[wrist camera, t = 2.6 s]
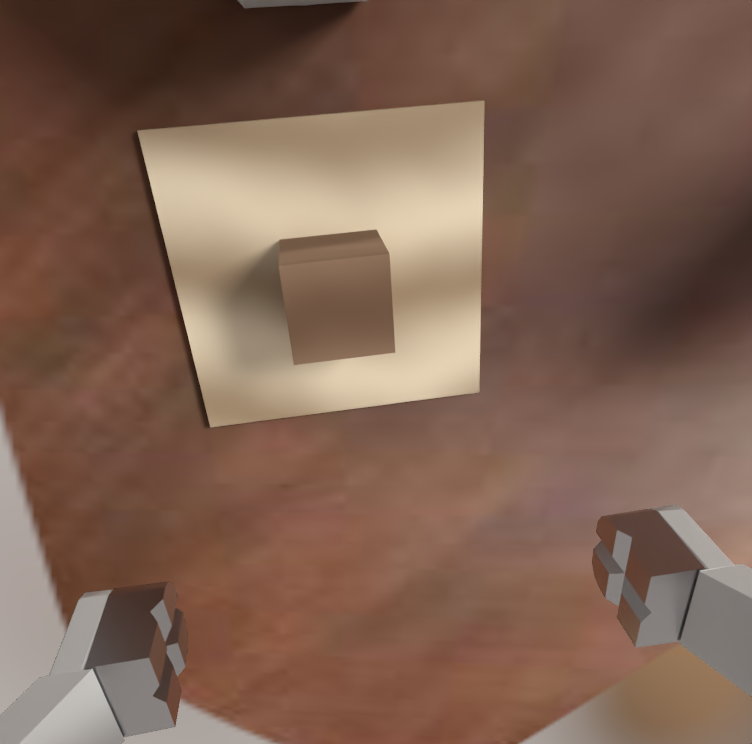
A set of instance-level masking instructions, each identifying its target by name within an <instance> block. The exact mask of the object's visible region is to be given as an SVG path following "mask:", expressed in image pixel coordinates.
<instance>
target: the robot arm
mask: <svg viewBox="0 0 752 744" xmlns="http://www.w3.org/2000/svg"><path fill="white" fill-rule="evenodd" d="M596 533H597V534H598V536H599V537H600V539H601V541H600V542H599V543H598V544H597V546H596V547H595V548H594V549H593V557H592V565H593V571H594V576H595V579H596V581H597V584H598V586H599V588H600V590H601V592H602V593H603V595H604V597H605V598H606V599H608V600H609V601H611V602H613V603H614V604H616V605H617V606H619V608H618V614H617V618H618V620H619V622H620V623H621V625H622V626H623V628H624V630H625V631H626V633H627V635H628V636H629V638H630V639H631V641H632V643H633V644H634V646H635V648H636V647H643V646H650V645H657V644H664V643H671V642H678V641H680V643H679V644H681V645H682V646H683V647H685V648H686V649H687V650H689V651H690V652H691V653H693V654H694V655H696V656H697V657H698V658H700V659H701V660H702V661H704V662H705V663H706V664H708V665H709V666H711V667H712V668H713V669H715V670H716V671H717V672H719V673H720V674H722V675H723V676H724V677H725V678H727V679H728V680H729V681H731V682H732V683H734V684H735V685H736V686H738V687H739V688H740V689H742V690H743V691H744V692H746V693H747V694H749V695H750V696H751V697H752V568H750V567H747V566H745V565H743V564H737V565H734V564H733V563H732V562H731V561H730V560H729V559H728V557H727V556H726V555H725V554H724V553H723V552H722V551H721V550H720V549H719V548H718V547H717V545H716V544H715V543H714V542H713V541H712V540H711V539H710V538H709V537H708V536H707V535H706V533H705V532H704V531H703V530H702V529H701V528H700V527H699V526H698V525H697V524H696V523H695V521H694V520H693V519H692V518H691V517H690V516H689V515H688V514H687V513H686V512H685V511H684V509H683V508H681V507H679V506H677V505H669V506H663V507H657V508H651V509H644V510H638V511H632V512H626V513H620V514H613V515H607V516H601V518H600V519H599V521H598V523H597V529H596ZM177 597H178V595H177V592H176V590H175V587H174V584H173V583H172V582H162V583H154V584H146V585H138V586H130V587H122V588H114V589H111V590H103V591H95V592H87V593H84V595H83V596H82V597H81V598H80V599H79V600H78V603H77V605H76V608H75V610H74V613H73V615H72V618H71V621H70V623H69V626H68V628H67V631H66V633H65V636H64V638H63V641H62V643H61V646H60V649H59V651H58V654H57V656H56V659H55V661H54V664H53V667H52V669H51V672H50V674H49V676H44V677H40V678H39V679H38V680H36V681H35V682H34V683H33V684H32V685H31V686H30V687H29V688H28V689H27V690H26V691H25V692H24V693H23V694H22V695H21V696H20V697H19V698H18V699H17V700H16V701H15V702H14V703H12V704H11V705H10V706H9V707H8V708H7V709H6V710H5V711H4V712H3V713H2V714H1V715H0V744H122V743H123V742H124V737H128V736H133V735H137V734H143V733H148V732H153V731H158V730H162V729H168V728H172V727H175V725H176V719H177V712H178V708H179V702H180V696H181V687H180V684H179V681H178V678H177V676H178V675H179V674H180V673H181V671H182V670H183V669H184V668H185V666H186V659H187V653H188V632H187V626H186V621H185V617H184V614H183V612H181V611H180V610H178V609H177V608H175V607H176V602H177ZM751 744H752V743H751Z"/></svg>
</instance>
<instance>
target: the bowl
mask: <svg viewBox="0 0 752 744" xmlns="http://www.w3.org/2000/svg"><path fill="white" fill-rule="evenodd" d="M237 1H238V2H239V3H240V4H241V5H242V6H243V7H244V8H258V7H275V6H308V5H316V4H326V3H343V2H360V1H365V2H366V1H368V0H237Z"/></svg>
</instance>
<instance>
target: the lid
mask: <svg viewBox="0 0 752 744" xmlns="http://www.w3.org/2000/svg"><path fill="white" fill-rule="evenodd" d="M137 132H138V136H139V140H140V144H141V148H142V152H143V156H144V160H145V164H146V168H147V172H148V176H149V180H150V184H151V188H152V192H153V196H154V201H155V205H156V209H157V213H158V217H159V221H160V225H161V229H162V233H163V237H164V241H165V245H166V249H167V253H168V257H169V261H170V266H171V270H172V274H173V278H174V282H175V286H176V290H177V294H178V298H179V302H180V306H181V310H182V314H183V318H184V322H185V326H186V331H187V335H188V339H189V343H190V347H191V351H192V355H193V359H194V363H195V367H196V371H197V375H198V379H199V383H200V387H201V391H202V395H203V400H204V404H205V408H206V412H207V416H208V420H209V424H210V427H217V426H225V425H232V424H240V423H248V422H255V421H263V420H271V419H278V418H286V417H294V416H301V415H309V414H317V413H324V412H332V411H339V410H347V409H355V408H362V407H370V406H378V405H385V404H393V403H401V402H408V401H416V400H424V399H431V398H439V397H447V396H454V395H462V394H469V393H477V392H479V373H480V318H481V263H482V209H483V154H484V101H483V100H479V101H467V102H456V103H444V104H433V105H421V106H410V107H398V108H387V109H375V110H363V111H352V112H340V113H329V114H317V115H306V116H294V117H283V118H271V119H260V120H248V121H237V122H225V123H214V124H202V125H191V126H179V127H168V128H156V129H145V130H138V131H137Z"/></svg>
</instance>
